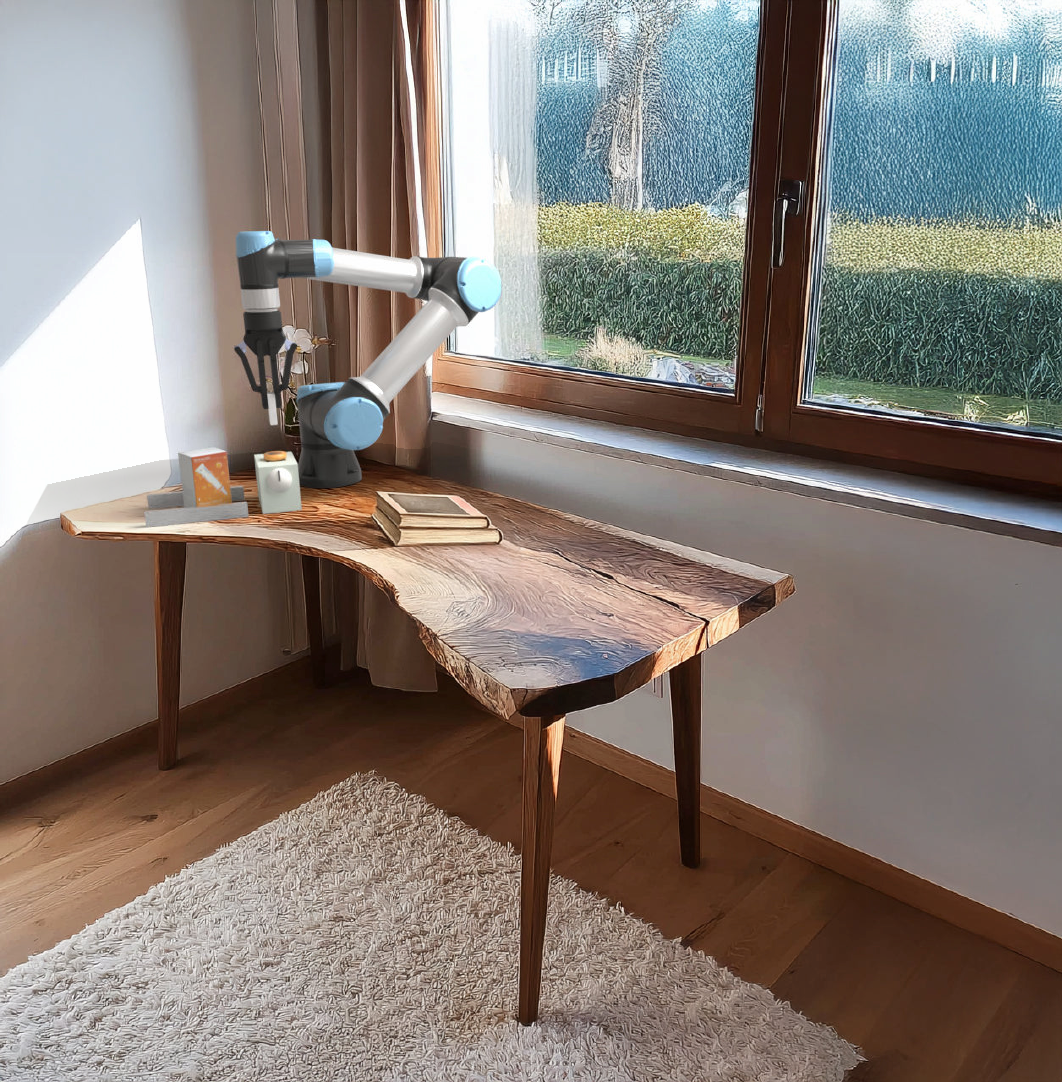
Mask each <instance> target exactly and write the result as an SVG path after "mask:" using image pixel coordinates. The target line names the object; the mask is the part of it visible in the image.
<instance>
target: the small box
mask: <svg viewBox="0 0 1062 1082" xmlns="http://www.w3.org/2000/svg"><path fill="white" fill-rule="evenodd" d="M177 455H178V463H179V464H178V465H179V471H180V473H179V474H180V480H181V491H183V498H184V506H183V507H184V508H186V507H196V506H207V505H217V504H227V503H233V501H232V499H231V489H230V487H231V481H230V472H229V470H230V469H229V461H228V452H227V450H224V449H221V448H218V447H215V446H211V447H206V448H198V449H193V450H188V451H187V450H186V451H182V452H177Z"/></svg>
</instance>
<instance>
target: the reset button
mask: <svg viewBox="0 0 1062 1082" xmlns="http://www.w3.org/2000/svg"><path fill="white" fill-rule="evenodd" d="M286 452H287V451H283V450H275V451H274V450H273V451H272V450H271V451H266V452H264V453H262V454H263V456H264V460H268V462H274V461H283V459H285V458H287V454H286Z"/></svg>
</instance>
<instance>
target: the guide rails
mask: <svg viewBox="0 0 1062 1082" xmlns="http://www.w3.org/2000/svg"><path fill="white" fill-rule="evenodd" d="M230 489H231V499H232V503H227V504H217V505H207V506H196V507H186V508H185V506H184V498H183V491H182V490H181V491H180V490H179V491H169V492H160V493H157V492H156V493H149V494H146V501H147V502H146V503H147V508H148V510H146V511H144V514H143V515H144V520H145V527H146V528H153V527H163V526H172V525H181V524H183V525H184V524H191V523H192V524H193V523H199V522H200V523H203V522H213V521H222V520H232V519H241V518H249V509H248V507H249V506H248V502H247V501H245V500H246V499H245V489H244V485H235V486H230ZM176 507H177V508H176ZM166 508H167V509H166ZM155 509H159V510H155Z"/></svg>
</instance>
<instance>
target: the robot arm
mask: <svg viewBox="0 0 1062 1082" xmlns="http://www.w3.org/2000/svg"><path fill="white" fill-rule="evenodd" d="M235 251H236V252H235V258H236V262H237V269H238V278H239V286H240V298H241V305H242V306H241V307H242V309H244V310H245V311H244V312H243V314H242V315H243V326H244V336H243V340H242V341H241V342H240V343H238V344H237V345H234V346H233V350H234V352H235V353H236V354H237V355H238V357H239V358H240V361H241V363H242V365H243V369H244V371H245V374H246V377H247V380H248V382H249V384H250V385H249V386H250V388H251V390H252V391H253V392H255V393H258V394H260V396H261V406H262V408H263V410H268V421H269V424H270V426H277V425H278V424H279V423H278V415H277V414H278V413H277V412H278V411H277V409H281V408H282V401H281V400H282V399H281V393H282V392H283V391H285V390H288V389H289V385H290V378H291V371H292V365H293V358H294V354H295V352H296V350H297V348H298V344H297V343H296V342H295V341H291V340H289V339H287V336H286V334H285V332H284V330H283V321H282V320H283V319H282V312H281V311H280V310H279V308H280V307H281V300H280V292H279V291H280V288H279V283H278V282H279V280H281V279H283V280H284V279H306V280H307V279H308V280H314V281H318V282H319V281H320V282H327V283H335V284H341V285H349V286H354V287H355V286H356V287H361V288H362V287H363V288H370V289H376V290H377V289H378V290H384V291H392V292H398V293H404V294H406V296H407V298H409V299H415V300H421V301H425V302H426V303H425V304H424V305H423V306H422V307H421V308H420V309H419V310H418V312H417V313H416V314H415V315H414V316H413V317H412V318H411V319H410V320H409V321H408V323H407V324H406V325H405V326H404V327H403V329H402V330H400V332H399V333H398V334H397V335H396V336H395V337H394V339H393V340H392V341H391V342H390V343H389V344H388V345H387V346H386V347H385V348H384V350H383V351H382V352H380V354H379V355H378V356H377V357H376V358H375V360H373V362H372V363H371V364H370V365H369V366H368V368H367V369H365V370H364V372H363V373H362V374H361V375H360V376H358V377H357V376H355V377H354V376H352V377H349V378H348V379H347V380H346V381H344V382H343V381H338V382H323V383H314V384H307V385H306V384H304V385H301V386H299V387H297V390H296V401H295V402H296V403H297V413H298V423H299V435H300V444H301V452H300V455H299V460H298V463H297V464H298V474H299V485H300V486H302V487H303V488H304V487H305V488H309V489H310V488H312V489H332V488H334V489H335V488H340V487H346V486H351V485H355V484H357V483H359V482H360V481H362V478H363V477H362V475H363V474H362V469H361V467H360V463H359V461H358V458H357V456H356V454H355V451H361V450H364V449H366V448H368V447H370V446H371V445H373V444H374V443H375V442H377V440H378V439H379V438H380V436H381V434H382V431H383V429H384V426H383V423H384V420H385V419H386V418H387V417H388V416H389V415H390V413H391V411H390V408H391V407H390V403H391V402H392V401H393V399H394V398H395V397H396V396H397V395H398V394H399V393H400V392H401V390H403V388H404V387H406V385H407V384H408V382H410V380H411V379H412V378H413V377H414V376H415V375H416V374H417V372H419V370H420V369H421V368H422V367H423V366H424V365H425V363H426V362H427V361H428V360H429V359H430V358H431V357H432V355H434V353H435V352H436V351H437V350H438V349H439V348H440V347H441V345H442V344H443V343H444V342H445V341H446V340H447V339H448V337H450V335H451V334H452V332H454V331H455V330H456V328H457V327H458V328H459V327H467V326H468V324H470V322H472V321H473V320H474V319H475V317H476V316H477V315H478V314H479V313H485V312H487V311H490V310H491V309H493V308H494V307H495V306H496V305H497V303H498V302H499V300H500V297H501V295H502V279H501V276H500V273H499V270H497V268H496V266H495V265H494V264H493V263H492V262H491V261H489V260H487V259H484V258H481V257H479V256H469V257H461V256H442V257H441V256H440V257H424V256H423V257H422V256H418V255H417V256H416V255H413V256H411V257H410V258H409V259H407V258H400V257H394V256H387V255H382V254H376V253H368V252H364V251H363V252H362V251H356V250H351V249H344V248H343V249H342V248H337V247H332V245H331V243H330V242H329V241H328V240H325V239H316V238H313V239H281V238H276V239H275V237H274V234H273V232H272V231H270V230H258V231H257V230H253V231H251V230H249V231H239V232H237V234H236V235H235ZM419 291H420V292H419ZM283 345H284V349H285V350H286V352H285V357H284V364H283V372H282V379H281V383H280V380H279V379H280V378H279V369H278V357H277V355H278V354H279V352H280V350H281V349H282V348H283ZM246 347H248V348H249V350H250V351H251V352H252V353H253V354H254V355H255V356H256V360H257V370H258V378H259V385H258V384H257V382H256V379H255V376H254V373H253V371H252V368H251V365H250V363H249V360H248V357H247V355H246V353H247V348H246ZM266 356H269V362H270V371H271V372H270V373H271V382H272V383H271V384H272V390H273V391H269V392H268V387H267V375H266V368H265V367H266V366H265V357H266Z"/></svg>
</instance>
